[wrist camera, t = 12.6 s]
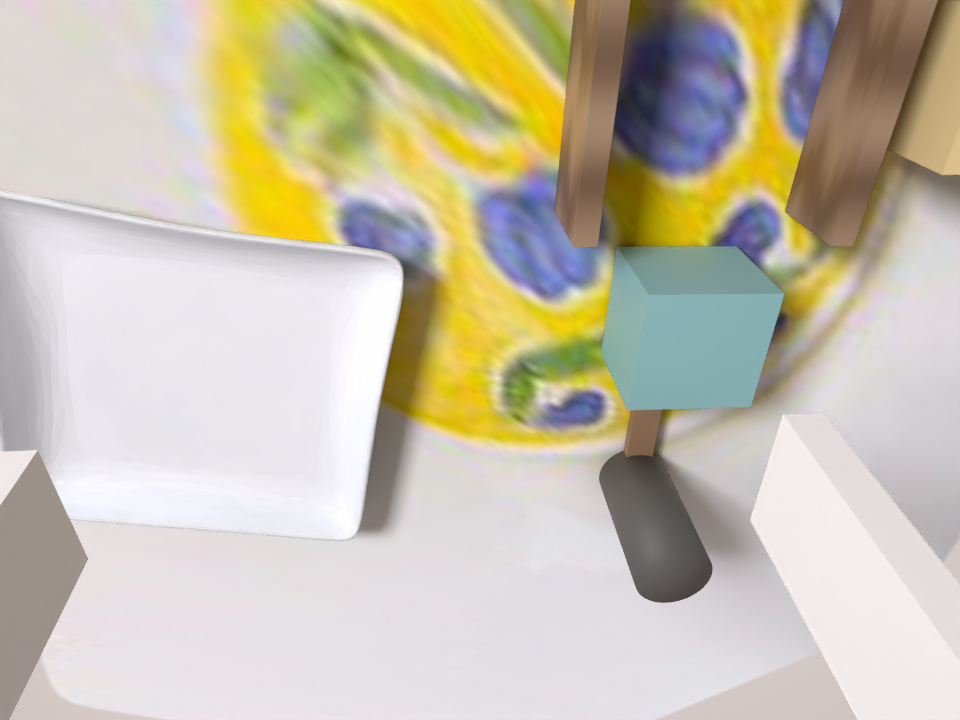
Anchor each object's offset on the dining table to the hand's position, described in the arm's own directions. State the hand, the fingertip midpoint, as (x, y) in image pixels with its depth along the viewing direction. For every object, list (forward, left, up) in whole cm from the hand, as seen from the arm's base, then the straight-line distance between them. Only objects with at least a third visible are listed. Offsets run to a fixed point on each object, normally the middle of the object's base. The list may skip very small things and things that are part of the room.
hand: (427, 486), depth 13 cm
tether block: (+16, +15, -26) cm, 34 cm away
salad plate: (+14, -13, -27) cm, 33 cm away
